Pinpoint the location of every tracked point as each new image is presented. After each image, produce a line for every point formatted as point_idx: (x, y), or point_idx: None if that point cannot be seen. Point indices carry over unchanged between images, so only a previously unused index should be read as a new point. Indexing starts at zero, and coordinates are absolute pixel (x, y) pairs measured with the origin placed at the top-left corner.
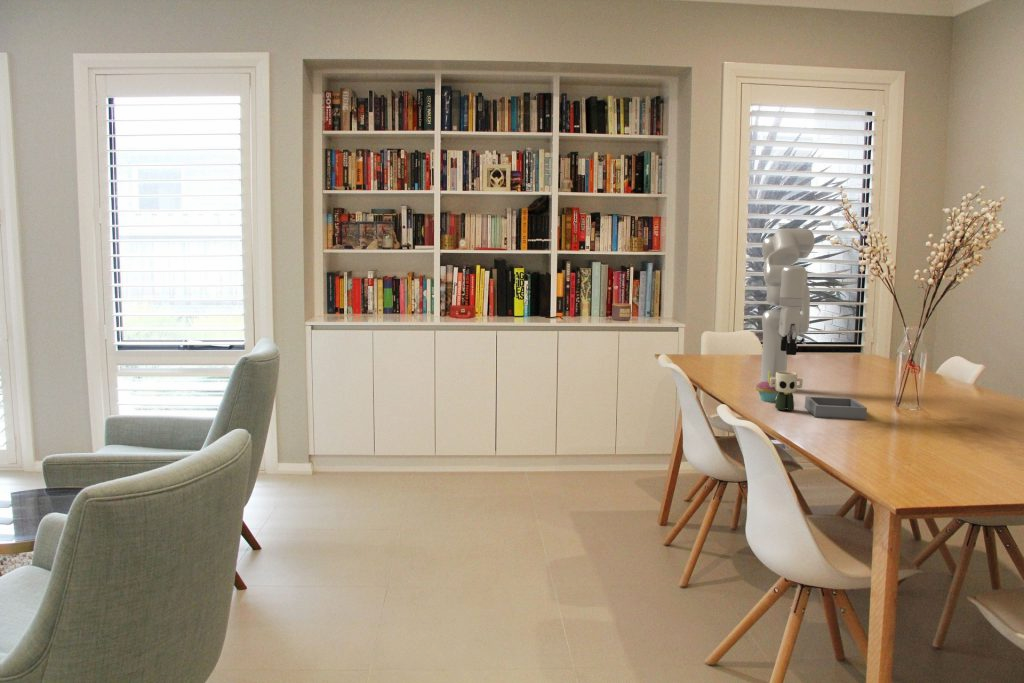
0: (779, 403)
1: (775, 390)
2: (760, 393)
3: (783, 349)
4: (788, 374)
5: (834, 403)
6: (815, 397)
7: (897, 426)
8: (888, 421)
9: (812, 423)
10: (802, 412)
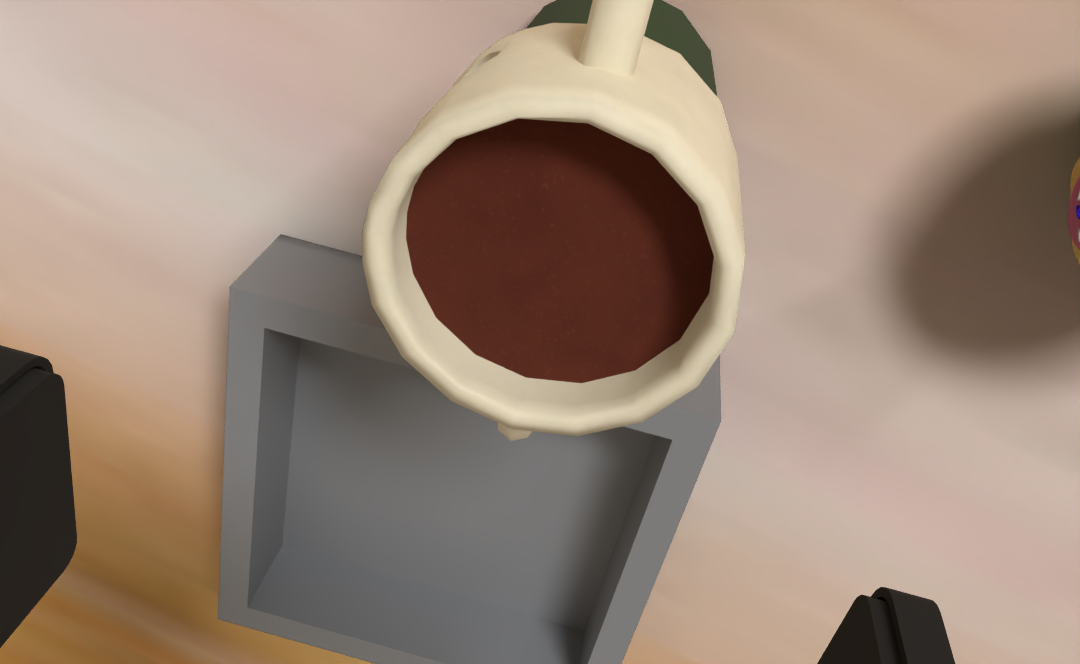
0: (550, 18)
1: (1076, 220)
2: None
3: (839, 658)
4: (677, 350)
5: (611, 576)
6: (654, 483)
7: (107, 613)
8: (242, 644)
9: (28, 90)
10: None
